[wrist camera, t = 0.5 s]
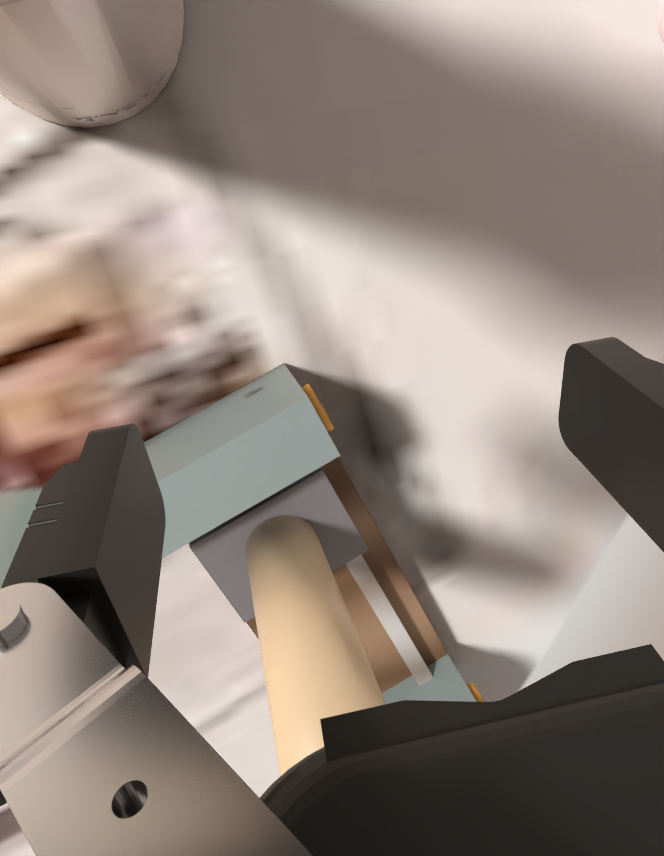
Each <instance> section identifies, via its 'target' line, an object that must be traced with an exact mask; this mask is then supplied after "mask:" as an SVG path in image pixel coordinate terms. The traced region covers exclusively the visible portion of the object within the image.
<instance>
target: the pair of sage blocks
mask: <svg viewBox="0 0 664 856" xmlns="http://www.w3.org/2000/svg"><path fill="white" fill-rule="evenodd" d="M284 366H285V367H284ZM279 368H280V370H279ZM274 370H275V371H274ZM278 370H279V371H278ZM269 373H270V374H269ZM262 376H263V375H262ZM262 376H261V377H259V378H260V379H259V378H257V379H258V380H259V381H258V380H257V379H256V380H255V381H256V383H255V382H252V383H253V384H252V383H251V382H250V383H251V384H250V383H248V386H247V385H246V386H244V387H241V390H240V388H239V389H238V391H237V390H236V391H234V392H233V393H231V394H229V395H228V396H225V397H224V398H225V399H223V398H222V399H220V400H219V401H216V402H215V403H214V404H211V405H210V406H209V407H206V409H204V410H203V409H202V411H200V413H199V412H197V413H195V414H194V415H192V416H190V417H188V418H186V419H185V420H184V421H185V422H184V421H181V422H179V423H178V424H176V425H174V426H172V428H171V429H167V430H166V431H165V432H164V431H163V433H162V434H161V435H160V434H159V435H160V436H159V435H158V437H156V436H157V435H156V436H155V437H156V438H157V439H156V438H155V440H154V439H152V438H151V439H149V440H147V441H146V442H144V444H145V443H146V444H147V443H148V445H147V446H146V445H145V448H146V451H147V453H148V456H149V459H150V462H151V465H152V468H153V471H154V473H155V476H156V479H157V482H158V485H159V488H160V491H161V494H162V498H163V502H164V508H165V518H166V525H165V534H164V543H163V552H162V558H163V557H165V556H167V555H169V554H170V553H172V552H174V551H176V550H177V549H179V548H181V547H183V546H184V545H186V544H188V543H189V542H191V541H193V540H195V539H196V538H198V537H200V536H202V535H203V534H205V533H207V532H209V531H210V530H212V529H214V528H216V527H217V526H219V525H221V524H222V523H224V522H226V521H228V520H229V519H231V518H233V517H235V516H236V515H238V514H240V513H242V512H243V511H245V510H247V509H249V508H250V507H252V506H254V505H255V504H257V503H259V502H261V501H262V500H264V499H266V498H268V497H269V496H271V495H273V494H275V493H276V492H278V491H280V490H282V489H283V488H285V487H287V486H288V485H290V484H292V483H294V482H295V481H297V480H299V479H301V478H302V477H304V476H306V475H308V474H309V473H311V472H313V471H315V470H316V469H318V468H320V467H321V466H323V465H325V464H327V463H328V462H330V461H332V460H334V459H335V458H337V457H339V456H341V455H340V454H339V452H338V450H337V448H336V446H335V445H334V443H333V441H332V439H331V437H330V436H329V434H328V432H330V431H332V430H333V429H334V427H333V425H332V423H331V421H330V419H329V417H328V415H327V414H326V412H325V410H324V408H323V406H322V405H321V403H320V401H319V399H318V398H317V396H316V394H315V393H314V391H313V390H312V388H311V386H310V385H309V384H306V385H304V386H303V387H301V386H300V385H299V384H298V382H297V381H296V379H295V378H294V377H293V375H292V374H291V372H290V371H289V370H288V368H287V367H286V365H284V364H283V365H280V366H278V367H277V368H276V369H273V370H271V371H269V372H268V373H266V374H264V376H263V377H262ZM249 385H250V386H249ZM258 387H259V388H258ZM261 387H262V388H261ZM260 388H261V389H263V390H260V392H259V391H258V390H257V391H258V392H257V393H254V394H252V393H251V392H252V391H254V390H255V389H260ZM250 391H251V392H250ZM255 391H256V390H255ZM249 392H250V393H249ZM236 393H237V394H236ZM246 393H247V395H248V393H249V394H250V395H251V396H250V395H248V396H250V397H249V398H246V397H248V396H247V395H246ZM230 395H231V396H230ZM226 399H227V400H226ZM207 408H208V409H207ZM204 412H205V413H204ZM198 413H199V414H198ZM187 419H189V420H187ZM182 422H183V424H182ZM186 422H187V423H186ZM179 424H180V425H179ZM175 426H176V427H175ZM173 427H174V428H173ZM168 430H169V431H168ZM173 430H174V431H173ZM171 431H172V432H171ZM162 435H163V436H162ZM153 438H154V437H153ZM151 441H152V443H150V442H151ZM164 442H165V443H164ZM149 443H150V444H149ZM160 446H161V447H160ZM427 667H428V669H429V671H430V672H431V674H432V676H433V678H431V679H430V680H428V681H426V682H425V683H423V684H421V685H420V686H419V685H418V683H417V681H416V680H415V678H414V677H413V675H412V676H410V677H409V678H407V679H405V680H403V681H402V682H400V683H398V684H397V685H395V686H393V687H392V688H390V689H388V690H387V691H385V692H383V693H382V695H383V698H384V700H385V703H386V704H389V703H393V702H398V701H402V700H422V701H466V702H484V700H483V698H482V697H481V695H480V693H479V692H478V690H477V688H476V687H475V685H474V684H473V682H471V683H469V684H467V685H466V683H465V682H464V680H463V678H462V677H461V675H460V673H459V672H458V670H457V668H456V667H455V665H454V663H453V662H452V660H451V659H450V657H449V655H448V654H447V655H445V656H444V657H442V658H440V659H439V660H437V661H435V662H434V663H432V664H430V665H429V666H427Z"/></svg>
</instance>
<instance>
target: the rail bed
mask: <svg viewBox="0 0 664 856" xmlns="http://www.w3.org/2000/svg"><path fill="white" fill-rule="evenodd" d="M282 365H283V364H282ZM284 365H285V364H284ZM284 367H285V366H284ZM275 369H276V368H275ZM279 370H280V368H279ZM279 370H278V371H279ZM274 371H275V370H274ZM269 374H270V373H269ZM263 376H264V375H263ZM263 376H262V377H263ZM259 379H260V378H259ZM255 380H256V379H255ZM255 380H254V381H252V382H255V383H256V381H255ZM257 380H258V379H257ZM258 381H259V380H258ZM252 382H251V383H252ZM251 383H250V384H251ZM252 384H253V383H252ZM246 385H247V386H248V384H246ZM246 385H245V386H246ZM249 386H250V385H249ZM243 387H244V386H243ZM258 388H259V387H258ZM261 388H262V387H261ZM261 388H260V389H255V390H256V391H255V390H254V391H252V392H251V391H250V392H251V393H252V394H254V393H257V392H258V391H259V392H260V390H263V389H261ZM240 390H241V388H240ZM257 390H258V391H257ZM237 391H238V390H237ZM250 392H249V393H250ZM232 393H233V392H232ZM249 393H248V395H250V394H249ZM236 394H237V393H236ZM246 395H247V393H246ZM248 395H247V396H248ZM227 396H228V395H227ZM230 396H231V395H230ZM250 396H251V395H250ZM250 396H248V397H246V398H249V397H250ZM223 399H225V398H224V397H223ZM226 400H227V399H226ZM218 401H219V400H218ZM213 404H214V403H213ZM209 406H210V405H209ZM209 406H208V407H209ZM204 409H206V408H204ZM204 409H203V410H204ZM207 409H208V408H207ZM201 411H202V410H201ZM199 413H200V411H199ZM199 413H198V414H199ZM204 413H205V412H204ZM193 415H194V414H193ZM187 420H189V419H187ZM183 421H184V420H183ZM184 422H185V421H184ZM186 423H187V422H186ZM182 424H183V422H182ZM179 425H180V424H179ZM175 427H176V426H175ZM171 428H172V427H170V428H169V429H171ZM173 428H174V427H173ZM165 431H166V430H165ZM165 431H164V432H165ZM168 431H169V430H168ZM173 431H174V430H173ZM171 432H172V431H171ZM162 433H163V432H162ZM162 433H160V435H161V434H162ZM158 435H159V434H158ZM158 435H157V436H156V437H158ZM160 435H159V436H160ZM162 436H163V435H162ZM156 437H154V438H152V439H154V440H155V438H156ZM156 439H157V438H156ZM150 443H152V441H151V442H150ZM150 443H149V444H150ZM164 443H165V442H164ZM144 445H146V446H147V445H148V443H147V444H146V443H145V444H144ZM160 447H161V446H160ZM321 468H322V469H323V471H324V473H325V475H326V476H327V478H328V480H329V481H330V483H331V485H332V487H333V488H334V490H335V492H336V494H337V495H338V497H339V499H340V501H341V502H342V504H343V506H344V507H345V509H346V511H347V513H348V514H349V516H350V518H351V520H352V521H353V523H354V525H355V526H356V528H357V530H358V532H359V534H360V535H361V537H362V539H363V541H364V543H365V544H366V546H367V548H368V551H366V552H365V553H363V554H361V555H360V556H358V557H356V558H354V559H353V560H351V561H349V562H348V563H346V564H344V565H342V566H341V567H339V568H337V569H336V570H334V571H332V573H333V576H334V578H335V580H336V583H337V585H338V588H339V590H340V593H341V595H342V598H343V600H344V602H345V605H346V607H347V610H348V612H349V615H350V617H351V620H352V622H353V624H354V627H355V629H356V632H357V634H358V637H359V639H360V642H361V644H362V647H363V649H364V651H365V654H366V656H367V659H368V661H369V664H370V666H371V669H372V671H373V673H374V676H375V678H376V681H377V683H378V686H379V688H380V691H381V693H383V692H385V691H387V690H388V689H390V688H392V687H393V686H395V685H397V684H398V683H400V682H402V681H403V680H405V679H407V678H409V677H410V676H412V675H413V677H414V678H415V680H416V681H417V683H418V685H419V686H420V685H421V684H423V683H425V682H426V681H428V680H430V679H431V678H433V676H432V674H431V672H430V671H429V669H428V667H427V666H429V665H430V664H432V663H434V662H435V661H437V660H439V659H440V658H442V657H444V656H445V655H447V652H446V650H445V648H444V646H443V645H442V643H441V641H440V639H439V637H438V636H437V634H436V632H435V630H434V629H433V627H432V625H431V623H430V621H429V620H428V618H427V616H426V614H425V612H424V611H423V609H422V607H421V605H420V604H419V602H418V600H417V598H416V596H415V595H414V593H413V591H412V589H411V587H410V586H409V584H408V582H407V580H406V579H405V577H404V575H403V573H402V571H401V570H400V568H399V566H398V564H397V562H396V561H395V559H394V557H393V555H392V554H391V552H390V550H389V548H388V546H387V545H386V543H385V541H384V539H383V537H382V536H381V534H380V532H379V530H378V529H377V527H376V525H375V523H374V521H373V520H372V518H371V516H370V514H369V512H368V511H367V509H366V507H365V505H364V504H363V502H362V500H361V498H360V496H359V495H358V493H357V491H356V489H355V487H354V486H353V484H352V482H351V480H350V479H349V477H348V475H347V473H346V471H345V470H344V468H343V466H342V464H341V462H340V461H339V459H338V457H337V458H335V459H334V460H332V461H330V462H328V463H327V464H325V465H323V466H321ZM189 544H190V542H189ZM247 624H248V625H249V627H250V628H251V629H252V631H253V632H254V633H255V635H256V636H257V638H258V631H257V625H256V618H255V617H253V618H252V619H250V620H248V621H247ZM258 639H259V638H258Z"/></svg>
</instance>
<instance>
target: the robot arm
mask: <svg viewBox="0 0 664 856" xmlns="http://www.w3.org/2000/svg"><path fill="white" fill-rule="evenodd" d="M183 27H184V3H183V0H0V94H1V95H3V96H4V97H5V98H7V99H8V100H9V101H11V102H12V103H13V104H15V105H16V106H18V107H20V108H22V109H24V110H26V111H28V112H29V113H31V114H33V115H35V116H37V117H39V118H41V119H45V120H48V121H51V122H55V123H58V124H61V125H65V126H76V127H87V128H90V127H97V126H104V125H112V124H114V123H117V122H119V121H122V120H124V119H127V118H130V117H132V116H134V115H135V114H137V113H138V112H139V111H141V110H142V109H144V108H145V107H146V106H148V105H149V104H151V103H152V101H153V100H154V99H155V98H156V97H157V96H158V94H159V93H160V92H161V91H162V90H163V89H164V87H165V86H166V84H167V82H168V80H169V79H170V77H171V75H172V73H173V71H174V69H175V67H176V65H177V61H178V57H179V53H180V50H181V46H182V42H183ZM559 428H560V432H561V436H562V438H563V441H564V443H565V444H566V446H567V447H568V449H569V450H570V451H571V452H572V453H573V454H574V455H575V456H576V457H577V458H578V460H579V461H580V462H581V463H582V464H583V465H584V466H585V467H586V468H587V469H588V470H589V471H590V473H591V474H592V475H593V476H594V477H595V478H596V479H597V480H598V481H599V482H600V483H601V485H602V486H603V487H604V488H605V489H606V490H607V491H608V492H609V493H610V494H611V495H612V496H613V498H614V499H615V500H616V501H617V502H618V503H619V504H620V505H621V506H622V507H623V508H624V510H625V511H626V512H627V513H628V514H629V515H630V516H631V517H632V518H633V519H634V520H635V521H636V523H638V525H639V526H640V527H641V528H642V529H643V530H644V531H645V532H646V533H647V534H648V536H649V537H650V538H651V539H652V540H653V541H654V542H655V543H656V544H657V545H658V546H659V547H660V549H661V550H662V551H663V552H664V364H662V363H659V362H657V361H654V360H651V359H648V358H645V357H644V356H642V355H641V354H639V353H638V352H636V351H635V350H633V349H632V348H630V347H629V346H627V345H626V344H624V343H623V342H622V341H620V340H619V339H617V338H614V337H610V338H604V339H599V340H593V341H588V342H582V343H577V344H573V345H571V346H570V347H569V348H568V350H567V352H566V356H565V362H564V371H563V380H562V390H561V399H560V408H559ZM28 524H29V528H26V530H25V532H24V535H23V537H22V539H21V542H20V544H19V547H18V549H17V551H16V554H15V556H14V558H13V561H12V563H11V566H10V568H9V570H8V573H7V575H6V577H5V580H4V582H3V585H2V587H1V589H0V806H2V805H4V804H5V803H8V805H9V807H10V808H11V810H12V812H13V814H14V816H15V818H16V820H17V821H18V823H19V825H20V827H21V829H22V831H23V833H24V834H25V836H26V838H27V840H28V842H29V844H30V846H31V847H32V849H33V851H34V853H35V855H36V856H664V661H663V660H662V658H661V657H660V655H659V654H658V653H657V652H656V650H655V649H654V647H653V646H652V645H651V644H650V645H645V646H641V647H637V648H632V649H628V650H624V651H619V652H614V653H610V654H606V655H601V656H597V657H592V658H588V659H584V660H579V661H575V662H572V663H570V664H568V665H566V666H564V667H563V668H561V669H559V670H557V671H555V672H553V673H551V674H550V675H548V676H546V677H544V678H542V679H540V680H539V681H537V682H535V683H533V684H531V685H529V686H528V687H526V688H524V689H522V690H520V691H518V692H517V693H515V694H513V695H511V696H509V697H507V698H505V699H503V700H500V701H496V702H466V701H422V700H402V701H398V702H393V703H389V704H385V705H380V706H376V707H371V708H367V709H363V710H358V711H354V712H349V713H345V714H340V715H336V716H332V717H327V718H323V719H320V722H321V729H322V735H323V741H324V747H322V748H321V749H319V750H317V751H315V752H313V753H312V754H310V755H308V756H306V757H305V758H304V759H302V760H301V761H299V762H298V763H297V764H295V765H294V766H292V767H291V768H289V769H288V770H287V771H286V772H285V773H284V774H283V775H282V776H280V777H279V778H278V779H277V780H276V781H275V782H274V783H273V784H272V785H271V786H270V787H269V788H268V789H267V790H266V791H265V792H264V794H263V795H262V796H261V797H260V798H259V797H258V796H257V795H256V794H255V793H254V792H253V791H252V790H251V789H250V787H249V786H248V785H247V784H246V783H245V782H244V781H243V780H242V779H241V778H240V777H239V776H238V775H237V773H236V772H235V771H234V770H233V769H232V768H231V767H230V766H229V765H228V764H227V763H226V762H225V761H224V759H223V758H222V757H221V756H220V755H219V754H218V753H217V752H216V751H215V750H214V749H213V748H212V747H211V745H210V744H209V743H208V742H207V741H206V740H205V739H204V738H203V737H202V736H201V735H200V734H199V733H198V731H197V730H196V729H195V728H194V727H193V726H192V725H191V724H190V723H189V722H188V721H187V720H186V719H185V717H184V716H183V715H182V714H181V713H180V712H179V711H178V710H177V709H176V708H175V707H174V706H173V705H172V703H171V702H170V701H169V700H168V699H167V698H166V697H165V696H164V695H163V694H162V693H161V692H160V691H159V690H158V688H157V687H156V686H155V685H154V684H153V683H152V682H151V681H150V680H149V679H148V672H149V663H150V654H151V646H152V637H153V629H154V620H155V612H156V603H157V594H158V586H159V577H160V569H161V560H162V552H163V543H164V534H165V525H166V518H165V508H164V502H163V498H162V494H161V491H160V488H159V485H158V482H157V479H156V476H155V473H154V471H153V468H152V465H151V462H150V459H149V456H148V453H147V451H146V448H145V445H144V442H143V439H142V436H141V434H140V431H139V429H138V428H137V426H136V425H135V424H127V425H122V426H116V427H111V428H105V429H100V430H94V431H90V432H89V434H88V436H87V439H86V442H85V445H84V447H83V450H82V453H81V456H80V459H79V461H78V462H74V463H68V464H64V465H63V466H62V467H61V468H60V469H59V470H58V471H57V472H56V473H55V474H54V475H53V476H52V477H51V478H50V479H49V480H48V481H47V483H46V484H45V485H44V487H43V489H42V492H41V494H40V497H39V499H38V501H37V504H36V510H34V511H33V513H32V516H31V518H30V520H29V523H28Z"/></svg>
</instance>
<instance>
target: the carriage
mask: <svg viewBox="0 0 664 856" xmlns="http://www.w3.org/2000/svg"><path fill="white" fill-rule="evenodd" d="M189 547H190V548H191V550H192V551H193V552H194V554H195V555H196V557H197V558H198V559H199V561H200V562H201V563H202V565H203V566H204V568H205V569H206V570H207V572H208V573H209V574H210V576H211V577H212V578H213V580H214V581H215V583H216V584H217V585H218V587H219V588H220V589H221V591H222V592H223V594H224V595H225V596H226V598H227V599H228V600H229V602H230V603H231V605H232V606H233V607H234V609H235V610H236V611H237V613H238V614H239V616H240V617H241V618H242V620H243V621H244V622H247V621H248V620H250V619H252V618H253V617H255V618H256V625H257V631H258V638H259V644H260V650H261V657H262V663H263V670H264V676H265V682H266V689H267V695H268V702H269V708H270V714H271V721H272V727H273V734H274V740H275V746H276V753H277V759H278V766H279V772H280V776H282V775H283V774H284V773H285V772H286V771H287V770H288V769H289V768H291V767H292V766H294V765H295V764H297V763H298V762H299V761H301V760H302V759H304V758H305V757H306V756H308V755H310V754H312V753H313V752H315V751H317V750H319V749H321V748H322V747H324V741H323V735H322V729H321V722H320V719H323V718H327V717H332V716H336V715H340V714H345V713H349V712H354V711H358V710H363V709H367V708H371V707H376V706H380V705H385V704H386V703H385V700H384V698H383V695H382V693H381V691H380V688H379V686H378V683H377V681H376V678H375V676H374V673H373V671H372V669H371V666H370V664H369V661H368V659H367V656H366V654H365V651H364V649H363V647H362V644H361V642H360V639H359V637H358V634H357V632H356V629H355V627H354V624H353V622H352V620H351V617H350V615H349V612H348V610H347V607H346V605H345V602H344V600H343V598H342V595H341V593H340V590H339V588H338V585H337V583H336V580H335V578H334V576H333V573H332V571H334V570H336V569H337V568H339V567H341V566H342V565H344V564H346V563H348V562H349V561H351V560H353V559H354V558H356V557H358V556H360V555H361V554H363V553H365V552H366V551H368V548H367V546H366V544H365V543H364V541H363V539H362V537H361V535H360V534H359V532H358V530H357V528H356V526H355V525H354V523H353V521H352V520H351V518H350V516H349V514H348V513H347V511H346V509H345V507H344V506H343V504H342V502H341V501H340V499H339V497H338V495H337V494H336V492H335V490H334V488H333V487H332V485H331V483H330V481H329V480H328V478H327V476H326V475H325V473H324V471H323V469H322V468H321V467H320V468H318V469H316V470H315V471H313V472H311V473H309V474H308V475H306V476H304V477H302V478H301V479H299V480H297V481H295V482H294V483H292V484H290V485H288V486H287V487H285V488H283V489H282V490H280V491H278V492H276V493H275V494H273V495H271V496H269V497H268V498H266V499H264V500H262V501H261V502H259V503H257V504H255V505H254V506H252V507H250V508H249V509H247V510H245V511H243V512H242V513H240V514H238V515H236V516H235V517H233V518H231V519H229V520H228V521H226V522H224V523H222V524H221V525H219V526H217V527H216V528H214V529H212V530H210V531H209V532H207V533H205V534H203V535H202V536H200V537H198V538H196V539H195V540H193V541H191V542H190V544H189Z"/></svg>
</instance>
